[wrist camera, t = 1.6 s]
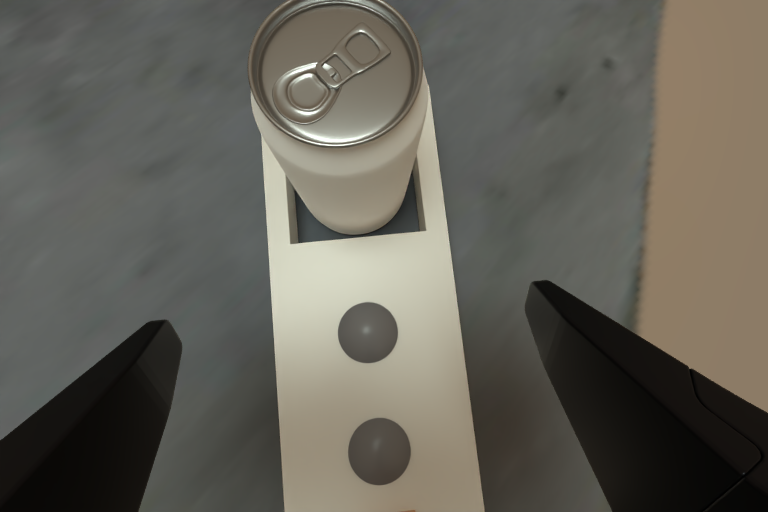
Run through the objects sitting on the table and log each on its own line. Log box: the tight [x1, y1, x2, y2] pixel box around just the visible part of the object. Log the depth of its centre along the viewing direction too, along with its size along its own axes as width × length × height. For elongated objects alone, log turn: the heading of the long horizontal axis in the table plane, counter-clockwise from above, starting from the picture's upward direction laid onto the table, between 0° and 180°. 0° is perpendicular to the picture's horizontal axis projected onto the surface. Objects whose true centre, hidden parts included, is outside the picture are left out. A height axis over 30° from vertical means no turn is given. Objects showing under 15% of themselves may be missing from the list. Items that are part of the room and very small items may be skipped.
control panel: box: [261, 85, 485, 512], centre depth 21 cm, size 26×10×3 cm, turn 6°
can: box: [248, 0, 428, 235], centre depth 18 cm, size 6×6×12 cm
